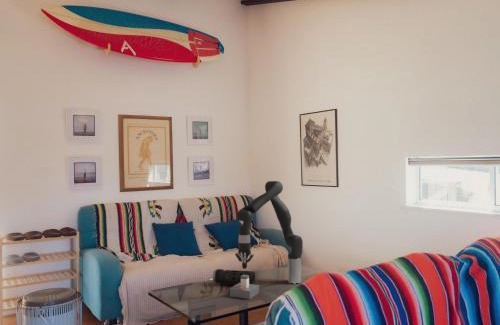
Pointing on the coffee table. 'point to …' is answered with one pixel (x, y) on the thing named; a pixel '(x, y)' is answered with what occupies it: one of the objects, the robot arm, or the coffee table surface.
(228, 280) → the muzzle brake
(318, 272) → the coffee table surface
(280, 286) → the coffee table surface
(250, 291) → the socket
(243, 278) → the plug
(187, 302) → the coffee table surface
